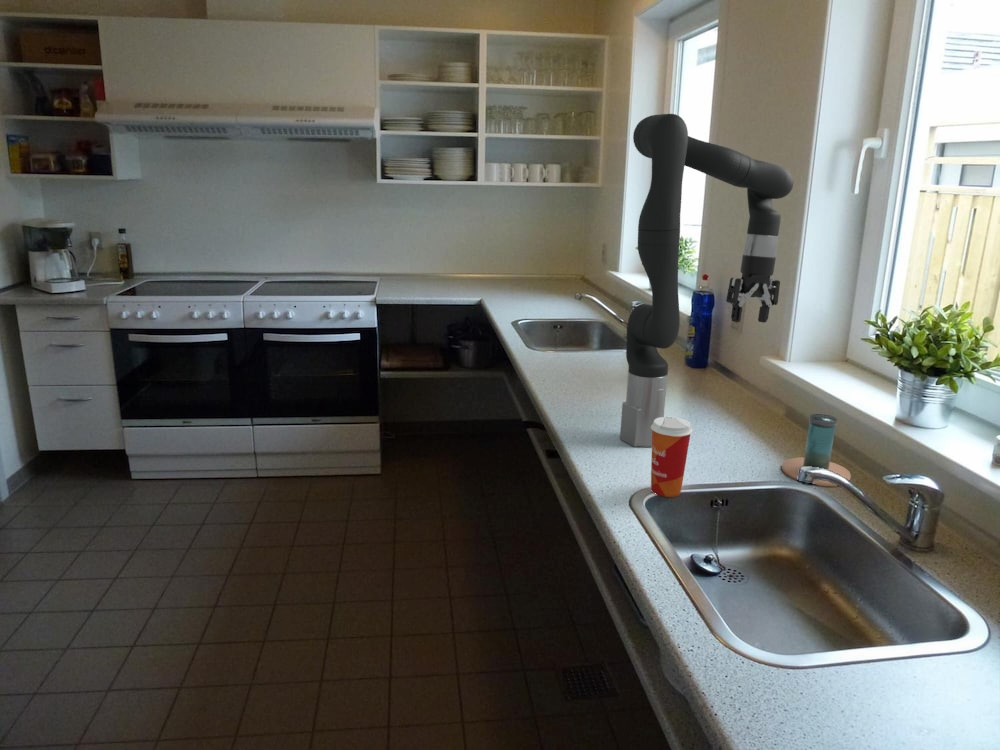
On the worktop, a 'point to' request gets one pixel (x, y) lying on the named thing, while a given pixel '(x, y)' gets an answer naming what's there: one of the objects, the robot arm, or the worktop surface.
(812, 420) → the canister
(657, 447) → the coffee cup
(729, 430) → the worktop surface
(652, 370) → the robot arm
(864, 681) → the worktop surface
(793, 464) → the dish
